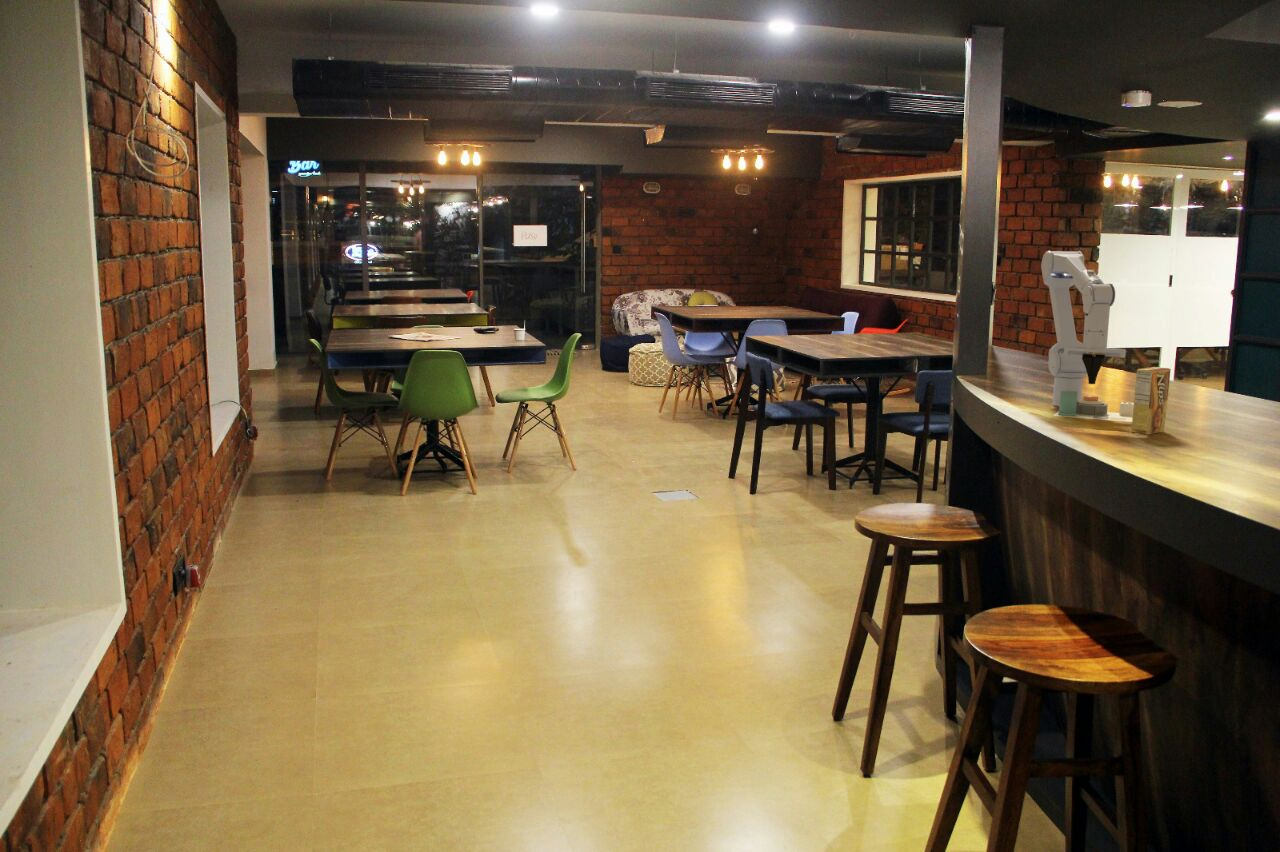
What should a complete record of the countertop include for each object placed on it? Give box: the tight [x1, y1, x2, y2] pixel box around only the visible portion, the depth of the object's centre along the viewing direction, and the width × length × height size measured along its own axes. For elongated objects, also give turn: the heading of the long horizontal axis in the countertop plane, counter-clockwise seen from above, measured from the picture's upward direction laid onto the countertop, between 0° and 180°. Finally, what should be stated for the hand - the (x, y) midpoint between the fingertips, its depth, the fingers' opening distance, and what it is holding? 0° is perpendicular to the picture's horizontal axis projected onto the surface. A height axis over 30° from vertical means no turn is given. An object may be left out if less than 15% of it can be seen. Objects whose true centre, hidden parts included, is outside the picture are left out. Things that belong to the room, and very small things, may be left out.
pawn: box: [1057, 391, 1077, 416], centre depth 276 cm, size 4×4×6 cm
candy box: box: [1131, 366, 1172, 436], centre depth 255 cm, size 9×4×15 cm, turn 129°
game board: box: [1052, 401, 1134, 423], centre depth 276 cm, size 15×22×4 cm
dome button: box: [1079, 395, 1103, 406], centre depth 279 cm, size 6×6×2 cm
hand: (1091, 383), depth 279 cm, fingers closed
